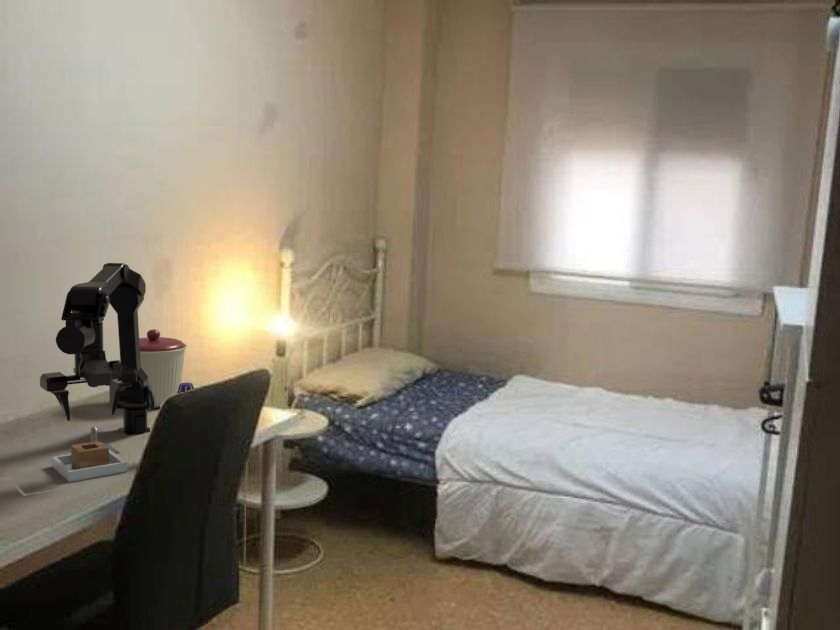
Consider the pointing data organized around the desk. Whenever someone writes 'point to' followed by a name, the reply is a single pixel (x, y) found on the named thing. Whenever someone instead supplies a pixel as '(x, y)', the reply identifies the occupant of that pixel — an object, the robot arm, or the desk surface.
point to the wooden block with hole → (89, 455)
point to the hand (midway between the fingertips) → (90, 417)
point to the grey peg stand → (94, 439)
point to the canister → (162, 364)
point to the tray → (65, 468)
